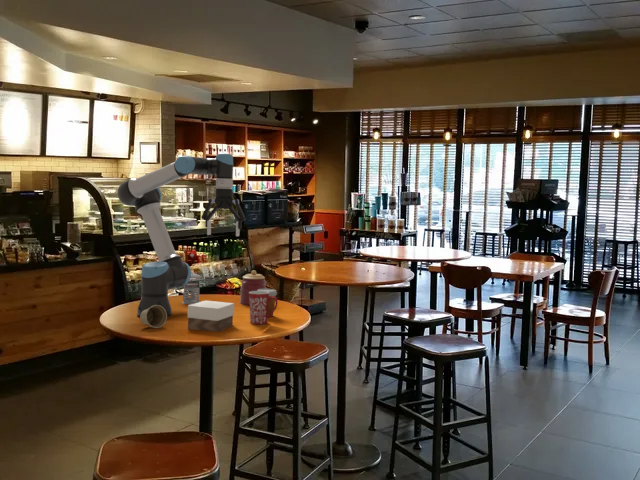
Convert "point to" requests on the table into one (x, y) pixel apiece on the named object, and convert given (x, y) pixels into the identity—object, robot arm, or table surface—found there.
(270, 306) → the disposable coffee cup
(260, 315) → the mug
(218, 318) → the tower top
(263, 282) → the canister
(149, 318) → the flower pot
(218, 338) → the table surface
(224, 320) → the tower base
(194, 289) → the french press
